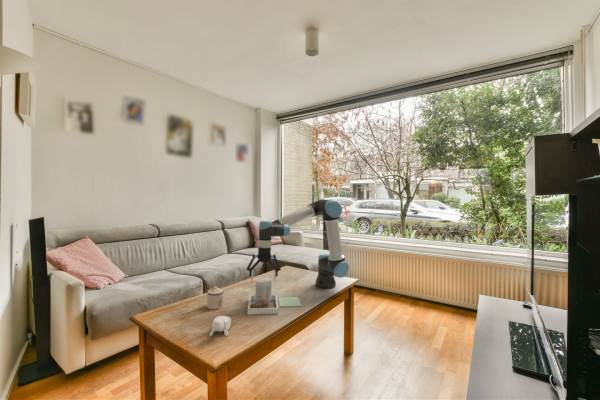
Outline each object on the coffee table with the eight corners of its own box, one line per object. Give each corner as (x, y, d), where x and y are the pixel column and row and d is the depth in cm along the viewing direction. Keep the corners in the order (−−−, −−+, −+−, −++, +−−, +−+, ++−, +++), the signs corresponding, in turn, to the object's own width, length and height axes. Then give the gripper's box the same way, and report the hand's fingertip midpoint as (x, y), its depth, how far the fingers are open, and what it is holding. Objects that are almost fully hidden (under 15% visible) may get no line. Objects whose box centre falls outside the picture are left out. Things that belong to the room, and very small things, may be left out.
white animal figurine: (214, 333, 135) (205, 337, 121) (216, 315, 138) (207, 316, 124) (231, 334, 135) (224, 337, 121) (233, 315, 138) (226, 316, 124)
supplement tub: (269, 300, 172) (269, 277, 171) (272, 306, 163) (273, 281, 162) (253, 302, 168) (254, 278, 168) (256, 308, 159) (257, 283, 159)
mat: (298, 298, 176) (298, 297, 176) (301, 306, 163) (301, 305, 163) (278, 298, 175) (278, 297, 175) (279, 307, 162) (279, 306, 162)
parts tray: (276, 299, 173) (276, 294, 173) (278, 313, 153) (278, 308, 153) (249, 299, 171) (249, 295, 171) (247, 314, 150) (247, 309, 150)
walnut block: (266, 308, 159) (266, 300, 159) (268, 312, 154) (268, 303, 154) (258, 309, 158) (258, 300, 158) (259, 313, 153) (259, 304, 153)
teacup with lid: (222, 309, 156) (222, 289, 156) (205, 310, 155) (205, 289, 154) (224, 301, 168) (224, 282, 168) (208, 301, 166) (209, 282, 166)
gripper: (284, 245, 170) (283, 279, 170) (244, 245, 167) (242, 279, 167) (285, 248, 163) (284, 283, 163) (243, 247, 159) (241, 283, 160)
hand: (263, 281), depth 165 cm, fingers open, 13 cm apart
